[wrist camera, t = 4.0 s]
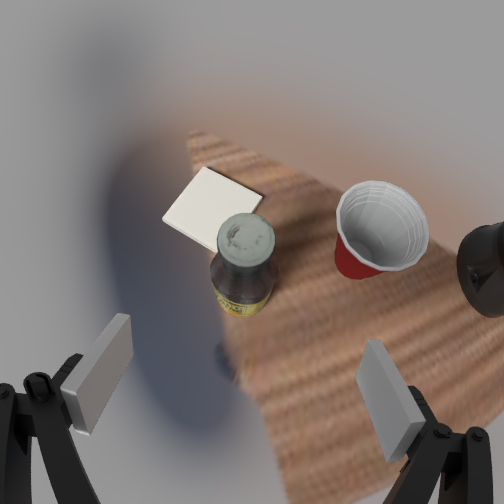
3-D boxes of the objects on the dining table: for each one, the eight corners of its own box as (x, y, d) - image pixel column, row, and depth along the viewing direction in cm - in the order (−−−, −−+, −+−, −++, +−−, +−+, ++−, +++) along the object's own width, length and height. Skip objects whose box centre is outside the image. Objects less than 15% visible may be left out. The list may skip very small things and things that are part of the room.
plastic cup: (340, 208, 45) (366, 160, 34) (400, 252, 43) (441, 215, 32) (298, 265, 42) (317, 227, 31) (364, 313, 40) (405, 292, 29)
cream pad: (262, 200, 45) (262, 196, 44) (223, 257, 42) (222, 254, 41) (204, 170, 47) (203, 166, 46) (163, 221, 44) (162, 218, 43)
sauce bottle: (209, 287, 41) (179, 217, 22) (250, 262, 42) (254, 177, 23) (235, 331, 39) (225, 297, 20) (278, 304, 40) (306, 248, 21)
